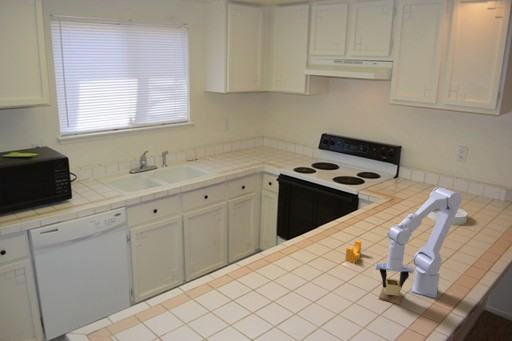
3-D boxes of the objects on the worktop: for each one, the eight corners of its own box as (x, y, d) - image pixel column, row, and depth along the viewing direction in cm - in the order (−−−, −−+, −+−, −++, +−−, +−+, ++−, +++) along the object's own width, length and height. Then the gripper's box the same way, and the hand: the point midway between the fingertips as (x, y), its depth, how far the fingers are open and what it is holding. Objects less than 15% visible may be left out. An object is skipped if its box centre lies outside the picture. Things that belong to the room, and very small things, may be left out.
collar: (397, 288, 176) (398, 279, 175) (399, 295, 171) (401, 286, 170) (383, 286, 177) (384, 278, 176) (385, 294, 172) (386, 285, 171)
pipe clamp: (354, 263, 203) (355, 250, 201) (345, 260, 205) (346, 248, 203) (363, 254, 212) (365, 242, 211) (355, 252, 215) (356, 240, 213)
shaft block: (402, 295, 177) (403, 285, 175) (399, 304, 170) (400, 294, 168) (382, 289, 180) (383, 280, 179) (378, 299, 173) (379, 289, 172)
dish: (432, 209, 281) (433, 202, 280) (469, 217, 269) (470, 210, 267) (422, 219, 263) (424, 211, 262) (462, 228, 251) (463, 220, 250)
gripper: (412, 253, 173) (408, 284, 176) (375, 250, 175) (372, 280, 178) (416, 261, 166) (412, 293, 170) (377, 257, 168) (374, 289, 172)
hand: (391, 287), depth 174 cm, fingers closed on collar, 6 cm apart
